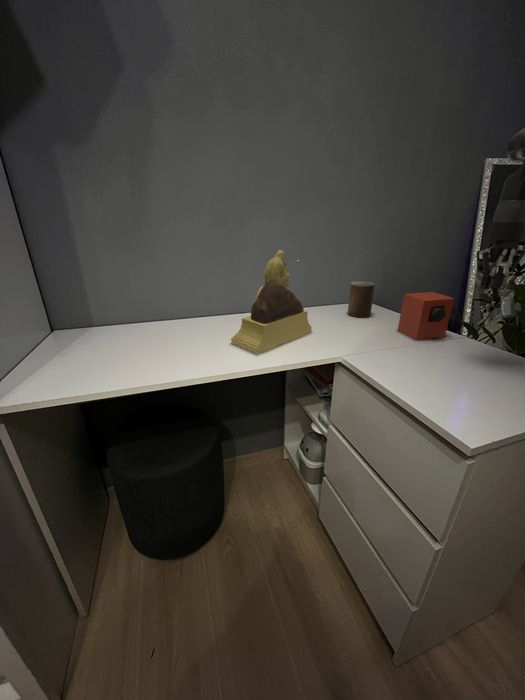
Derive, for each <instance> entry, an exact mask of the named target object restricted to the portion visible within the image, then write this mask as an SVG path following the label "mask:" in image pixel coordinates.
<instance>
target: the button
mask: <svg viewBox="0 0 525 700" xmlns="http://www.w3.org/2000/svg"><path fill="white" fill-rule="evenodd" d="M445 314H446V313H445V310H444V309H441V308H435V309H434V310H433V311H432V312H431V314H430V317H431V319H432V320H434V321H437V322H439V321H441V320H443V318H444V317H445Z"/></svg>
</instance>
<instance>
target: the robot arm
mask: <svg viewBox="0 0 525 700" xmlns="http://www.w3.org/2000/svg"><path fill="white" fill-rule="evenodd" d="M505 150H506V153H505V154H506V157H507V158H508V159H509V161H512V162H514V163H521V166H520V167H519V169H518V170H517V171H515V172H514V173H512V174H510V175H508V176H507V178H506V179H505V181H504V183H503V187H502V190H501V192H500V193H501V194H500V198H499V201H498V204H497V206H496V207H495V208H496V209H495V211H494V214H493V218H492V222H491V225H490V228H489V232H488V235H487V240H489V244H488V245H487V247H486V249H483V250H478V251H476V270H477V271H476V272H478V273H480V274H482V277H481V281H480V284H479V285H480V287H479V288H480V289H481V290H490V288H493V289H498V290H499V289H501V288H502V286H503V284H504V281H505V278H506V276H507V275H508V274H509V273H513V272H514V271H515V270H516V268H517V266H518V265H519V263H520V262H521V260H522V259H523V257H524V256H525V249H520V248H519V246H520V245H519V242H522V241H524V240H525V127H524V128H522V129H520V130H519V131H518V132H516V133H515V134H514V135H513V136H512V137H511V138H510V140H509V142H508V144H507V146H506V149H505ZM495 272H496V273H495Z"/></svg>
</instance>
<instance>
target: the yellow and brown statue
mask: <svg viewBox="0 0 525 700" xmlns="http://www.w3.org/2000/svg"><path fill="white" fill-rule="evenodd" d="M284 257H285V252H284V251H283V250H282V249H280V250H277V251H276V254H275V255H274V256H273V258H271V259H270V260H268V262H266V263H267V264H266V266H265V269H264V272H263V278H264V284H263V285H262V286H260V287H259V288H258V290H257V293H256V294H255V301H254V303H253V304H252V306H251V307H250V315H249V316H246V317H245V316H244V317H241V325H240V328H239V330H238V331H237V333H235V334H234V335H233V336H232V337H231V340H230V341H231V342H230V343H231V344H232V345H234V346H236V347H239V348H240V349H243V350H244V351H248V352H249V353H253V354H255V355H260V354H262V353H264V352H267V351H269V350H271V349H274V348H276V347H279V346H281V345H283V344H286V343H289V342H291V341H294V340H296V339H298V338H301V337H303V336H306V335H308V334H310V333H312V331H313V330H312V329H313V327H312V326H311V324H310V322H309V319H308V310H304V307H303V305H302V302H301V301H300V300H299V299H298V298H297V297H296V295H295V293H294V292H292V291H291V290H289V289H288V287H289V281H290V273H288V266H287V262H286V260H285V258H284Z"/></svg>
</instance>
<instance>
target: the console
mask: <svg viewBox="0 0 525 700" xmlns="http://www.w3.org/2000/svg"><path fill="white" fill-rule="evenodd" d="M454 302H455V297H450V296H448V295H444V294H441V293H438V292H435V291H427V292H414V293H403V299H402V304H401V310H400V316H399V320H398V325H397V332H399V333H401V334H403V335H404V336H407V337H409V338H411V339H412V340H414V341H421V340H430V339H437V338H438V339H439V338H445V337H446V334H447V330H448V326H449V322H450V318H451V314H452V311H453V310H452V309H453V306H454ZM435 308H441V309H444V310H445V313H446V314H445V317H444V318H443V320H441V321H439V322H437V321H434V320H432V319H431V317H430V314H431V312H432V311H433V310H434V309H435Z"/></svg>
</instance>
